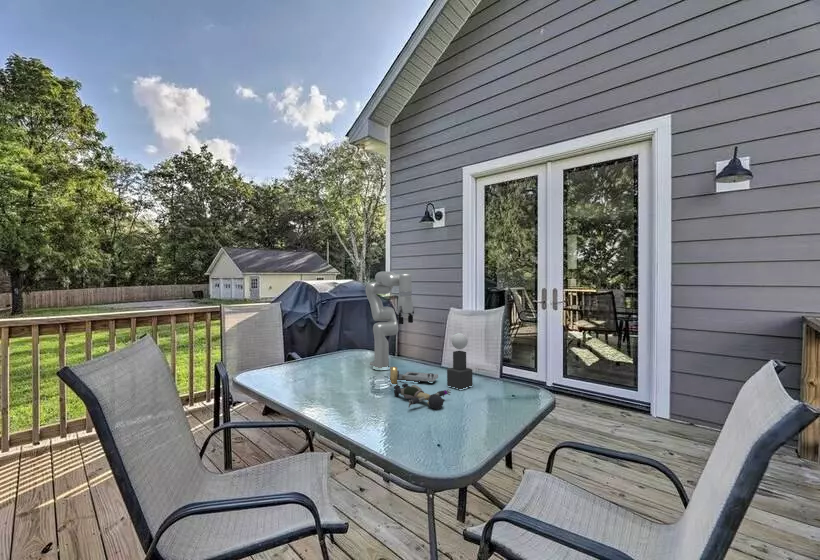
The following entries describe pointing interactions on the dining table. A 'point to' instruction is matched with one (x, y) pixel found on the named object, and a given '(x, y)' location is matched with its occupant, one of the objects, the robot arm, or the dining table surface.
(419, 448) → the dining table surface
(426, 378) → the grey flat block
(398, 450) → the dining table surface
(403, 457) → the dining table surface
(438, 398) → the toy
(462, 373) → the sculpture
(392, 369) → the pin
